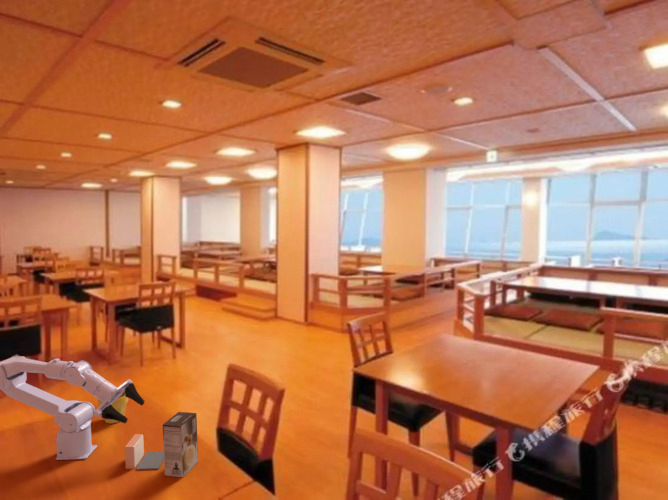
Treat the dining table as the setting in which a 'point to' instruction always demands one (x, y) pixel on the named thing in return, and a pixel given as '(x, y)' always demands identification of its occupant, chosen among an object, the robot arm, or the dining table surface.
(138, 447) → the pale pink block
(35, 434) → the dining table surface
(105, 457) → the dining table surface
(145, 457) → the mat
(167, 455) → the coffee box
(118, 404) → the plant pot
